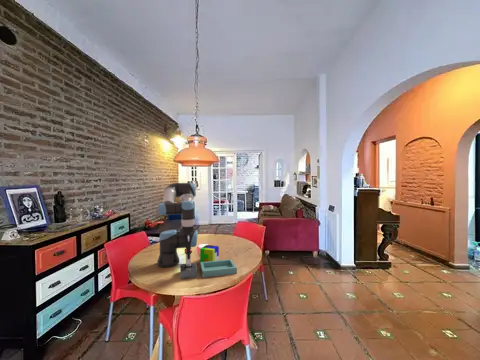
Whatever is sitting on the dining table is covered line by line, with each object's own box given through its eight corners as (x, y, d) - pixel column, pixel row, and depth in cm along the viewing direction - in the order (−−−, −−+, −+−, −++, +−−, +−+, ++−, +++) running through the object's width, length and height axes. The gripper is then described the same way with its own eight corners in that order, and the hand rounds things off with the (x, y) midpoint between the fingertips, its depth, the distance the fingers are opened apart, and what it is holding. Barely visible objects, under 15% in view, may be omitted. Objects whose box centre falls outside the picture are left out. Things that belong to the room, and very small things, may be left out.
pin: (184, 273, 150) (184, 248, 150) (192, 272, 152) (191, 247, 151) (185, 276, 146) (184, 250, 146) (192, 275, 147) (192, 250, 147)
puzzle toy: (218, 259, 175) (218, 246, 175) (212, 264, 166) (212, 250, 166) (206, 258, 179) (206, 244, 178) (200, 262, 169) (200, 248, 169)
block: (180, 271, 153) (180, 264, 153) (195, 270, 156) (195, 262, 156) (180, 279, 142) (180, 271, 142) (197, 277, 144) (197, 269, 144)
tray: (200, 267, 159) (200, 262, 159) (231, 264, 165) (231, 259, 165) (202, 277, 144) (202, 271, 144) (236, 273, 150) (236, 267, 150)
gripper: (181, 223, 156) (182, 258, 156) (182, 229, 139) (182, 268, 139) (193, 222, 158) (193, 257, 158) (195, 228, 141) (195, 267, 141)
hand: (188, 262), depth 149 cm, fingers closed on pin, 5 cm apart
